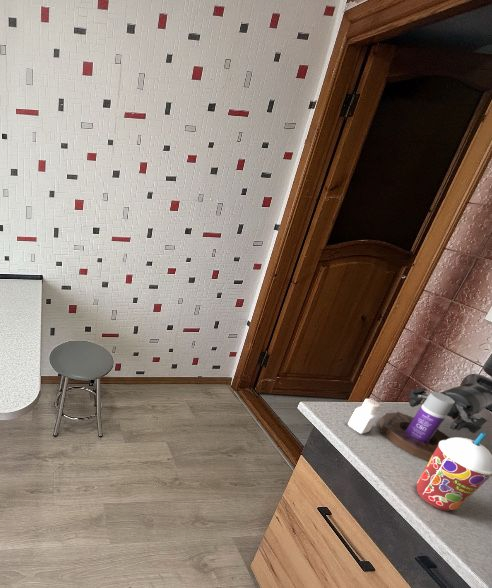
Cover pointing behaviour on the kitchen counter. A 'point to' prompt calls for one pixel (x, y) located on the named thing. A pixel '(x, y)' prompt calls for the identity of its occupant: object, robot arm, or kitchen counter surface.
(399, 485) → the kitchen counter surface
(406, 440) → the collar
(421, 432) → the container
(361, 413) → the pepper shaker
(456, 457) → the smoothie
